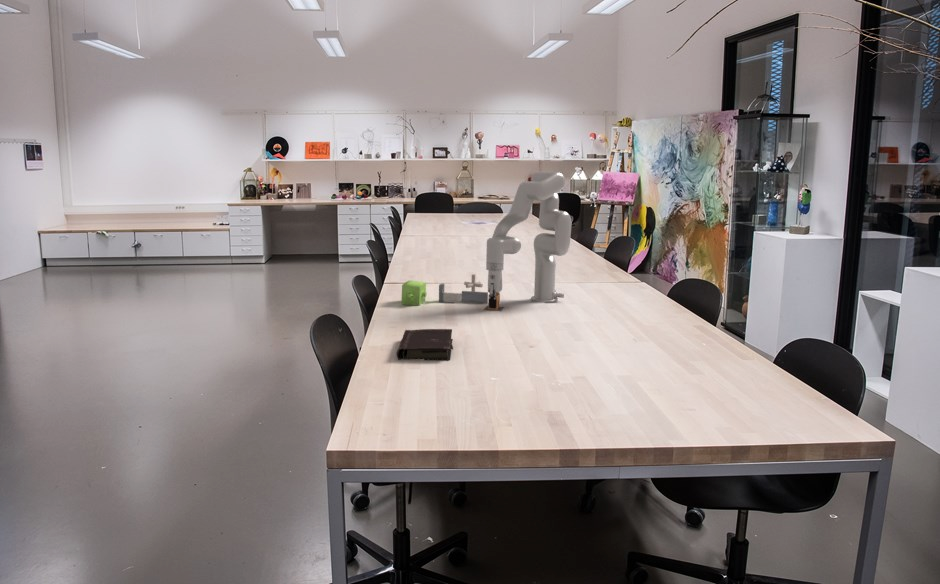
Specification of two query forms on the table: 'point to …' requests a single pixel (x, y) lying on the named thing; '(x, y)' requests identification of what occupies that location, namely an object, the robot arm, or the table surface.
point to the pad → (494, 310)
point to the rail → (462, 296)
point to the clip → (496, 302)
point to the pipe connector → (473, 284)
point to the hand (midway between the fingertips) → (494, 306)
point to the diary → (426, 344)
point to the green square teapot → (413, 293)
